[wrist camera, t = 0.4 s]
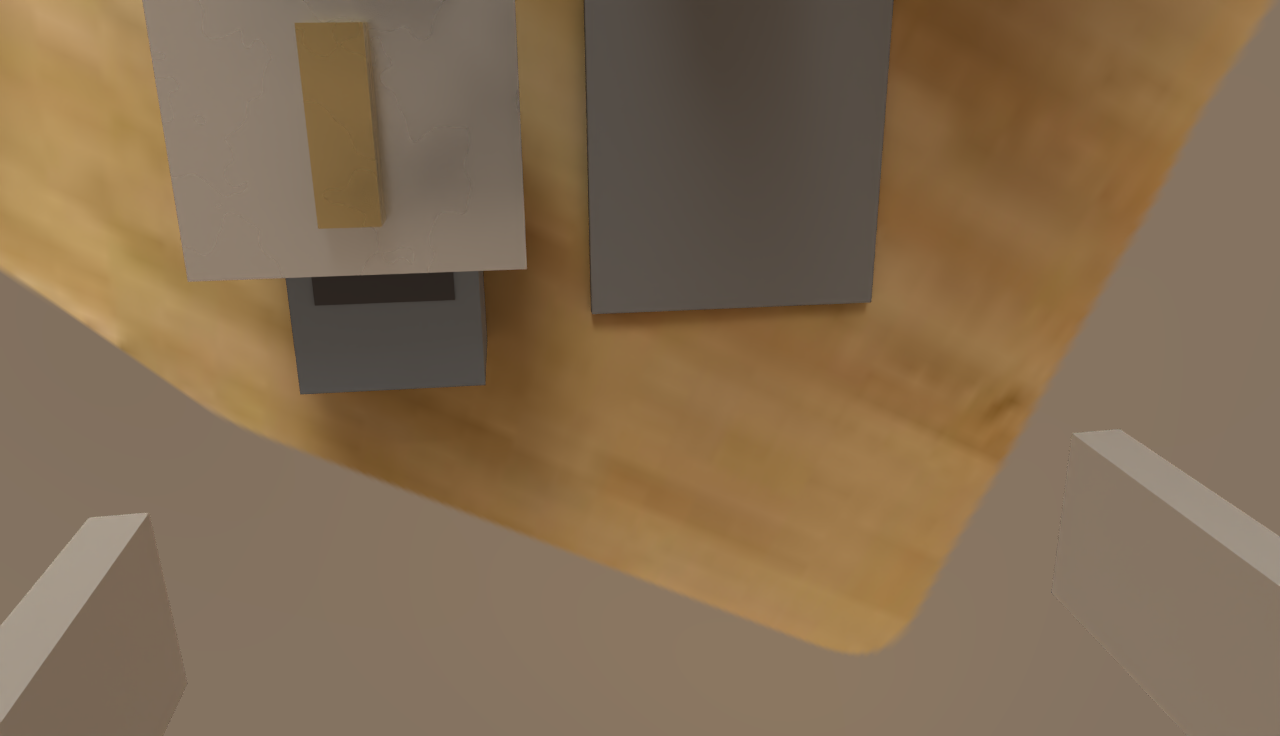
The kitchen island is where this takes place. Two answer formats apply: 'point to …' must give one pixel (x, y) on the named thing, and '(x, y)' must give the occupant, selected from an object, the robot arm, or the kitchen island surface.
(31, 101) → the kitchen island surface
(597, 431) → the kitchen island surface
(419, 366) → the block plane
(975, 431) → the kitchen island surface
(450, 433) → the kitchen island surface
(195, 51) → the lever cap
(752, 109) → the rubber mat
